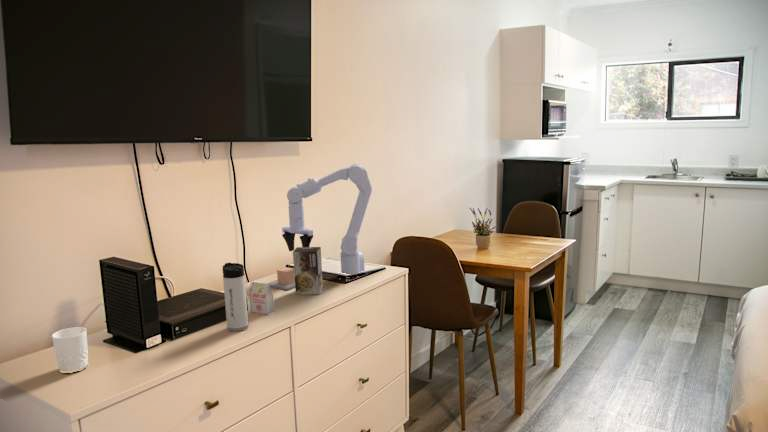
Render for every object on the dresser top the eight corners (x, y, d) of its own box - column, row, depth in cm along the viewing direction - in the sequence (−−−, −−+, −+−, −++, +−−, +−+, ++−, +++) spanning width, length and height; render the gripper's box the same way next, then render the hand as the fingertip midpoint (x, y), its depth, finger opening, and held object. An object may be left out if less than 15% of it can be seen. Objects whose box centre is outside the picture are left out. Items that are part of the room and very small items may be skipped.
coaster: (287, 277, 227) (287, 276, 227) (309, 282, 220) (309, 280, 220) (265, 285, 218) (264, 283, 218) (287, 290, 211) (287, 288, 211)
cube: (287, 279, 222) (286, 267, 221) (296, 281, 219) (295, 268, 218) (277, 283, 218) (276, 270, 217) (287, 285, 215) (286, 272, 214)
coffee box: (323, 289, 211) (321, 246, 208) (319, 294, 205) (317, 250, 202) (299, 289, 212) (296, 246, 209) (295, 294, 206) (292, 251, 203)
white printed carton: (257, 309, 192) (255, 280, 190) (274, 311, 189) (272, 282, 187) (250, 312, 189) (248, 283, 187) (267, 315, 186) (265, 285, 184)
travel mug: (240, 322, 180) (236, 260, 176) (252, 327, 175) (247, 264, 172) (222, 328, 176) (217, 264, 172) (234, 333, 171) (228, 268, 167)
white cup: (76, 360, 155) (71, 325, 153) (97, 364, 152) (93, 328, 150) (49, 372, 148) (44, 336, 146) (71, 377, 145) (66, 340, 143)
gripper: (275, 218, 224) (278, 251, 226) (303, 221, 216) (305, 256, 218) (288, 215, 230) (290, 248, 232) (315, 218, 221) (317, 252, 224)
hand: (298, 251), depth 226 cm, fingers open, 7 cm apart
